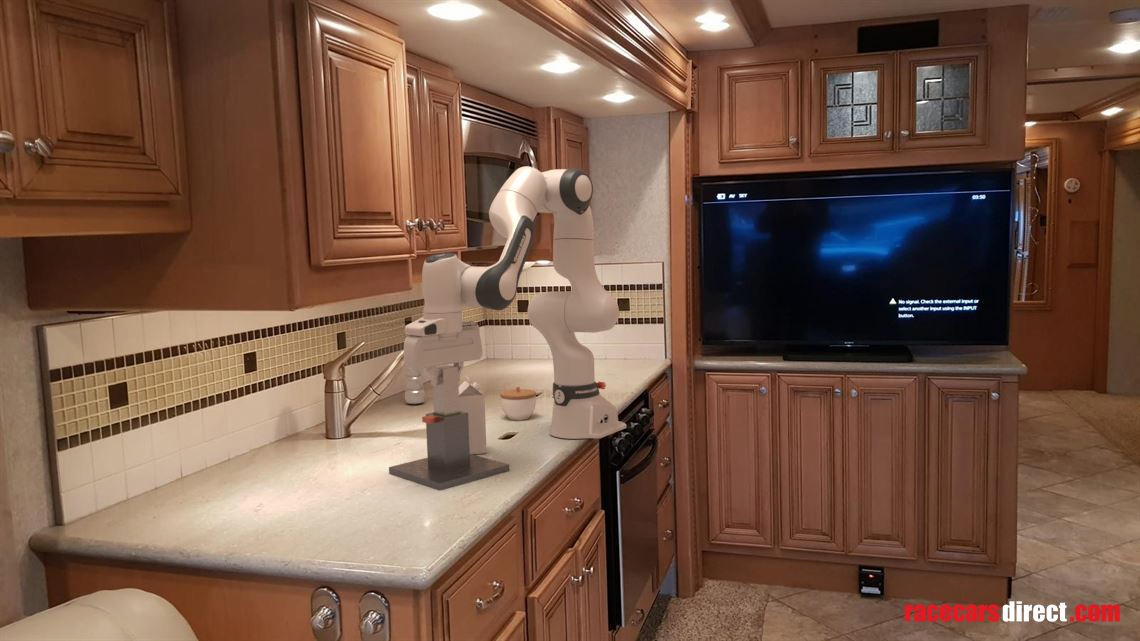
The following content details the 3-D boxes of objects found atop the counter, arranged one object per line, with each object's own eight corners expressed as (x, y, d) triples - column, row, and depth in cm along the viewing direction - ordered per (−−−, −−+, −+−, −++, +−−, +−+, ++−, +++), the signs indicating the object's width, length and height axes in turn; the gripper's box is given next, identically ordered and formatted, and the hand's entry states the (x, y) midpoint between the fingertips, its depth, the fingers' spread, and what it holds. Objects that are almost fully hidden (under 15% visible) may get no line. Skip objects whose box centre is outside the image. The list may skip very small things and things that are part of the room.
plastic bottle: (419, 401, 290) (416, 341, 288) (429, 404, 285) (426, 343, 283) (401, 403, 286) (398, 343, 284) (411, 406, 281) (408, 345, 279)
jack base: (457, 456, 219) (455, 401, 217) (509, 470, 205) (507, 412, 203) (389, 473, 205) (386, 414, 204) (440, 490, 191) (437, 427, 189)
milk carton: (458, 456, 219) (455, 381, 217) (454, 449, 226) (451, 377, 224) (486, 453, 221) (484, 379, 219) (482, 447, 228) (479, 375, 225)
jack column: (450, 439, 207) (446, 364, 205) (461, 442, 204) (458, 366, 202) (434, 443, 204) (431, 367, 202) (446, 446, 201) (442, 369, 199)
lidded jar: (544, 416, 262) (543, 385, 261) (521, 423, 254) (520, 391, 253) (516, 412, 269) (515, 382, 268) (493, 419, 260) (492, 388, 259)
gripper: (470, 319, 211) (472, 375, 212) (398, 327, 196) (401, 388, 198) (486, 320, 206) (488, 378, 208) (414, 329, 192) (417, 391, 193)
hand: (445, 383), depth 203 cm, fingers closed on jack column, 4 cm apart
